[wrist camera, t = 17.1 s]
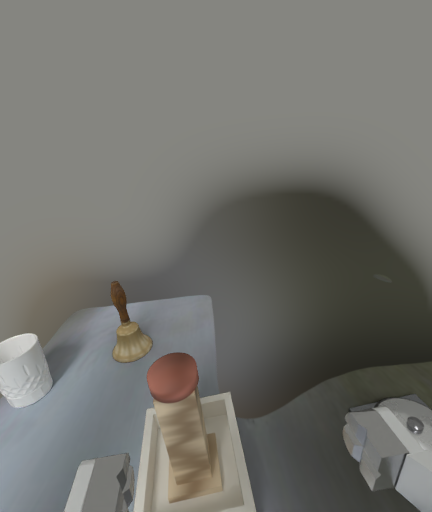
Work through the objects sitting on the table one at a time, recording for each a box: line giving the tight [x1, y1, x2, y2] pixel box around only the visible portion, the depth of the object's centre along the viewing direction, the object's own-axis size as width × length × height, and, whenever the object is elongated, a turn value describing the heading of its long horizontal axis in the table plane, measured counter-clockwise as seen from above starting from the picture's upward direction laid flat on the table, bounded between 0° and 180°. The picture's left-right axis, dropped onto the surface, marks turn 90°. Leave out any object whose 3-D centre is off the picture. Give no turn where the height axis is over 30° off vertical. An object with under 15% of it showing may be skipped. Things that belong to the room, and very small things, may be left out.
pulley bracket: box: [349, 394, 432, 452], centre depth 31 cm, size 10×10×3 cm
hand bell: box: [111, 281, 152, 363], centre depth 52 cm, size 8×8×16 cm
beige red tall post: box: [147, 353, 223, 504], centre depth 29 cm, size 6×6×16 cm
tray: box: [133, 392, 256, 512], centre depth 31 cm, size 12×14×4 cm
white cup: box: [0, 333, 53, 408], centre depth 45 cm, size 8×8×10 cm
